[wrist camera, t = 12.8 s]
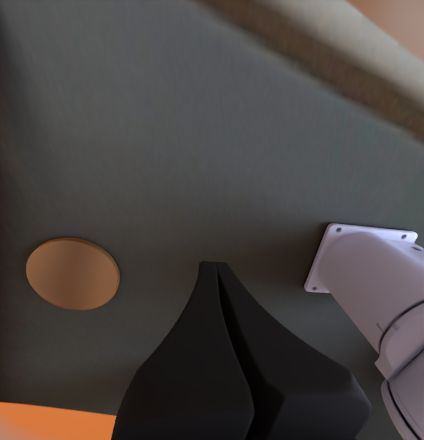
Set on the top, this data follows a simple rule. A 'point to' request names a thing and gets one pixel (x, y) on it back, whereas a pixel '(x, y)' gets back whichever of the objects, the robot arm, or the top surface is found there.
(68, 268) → the cork coaster
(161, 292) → the top surface
